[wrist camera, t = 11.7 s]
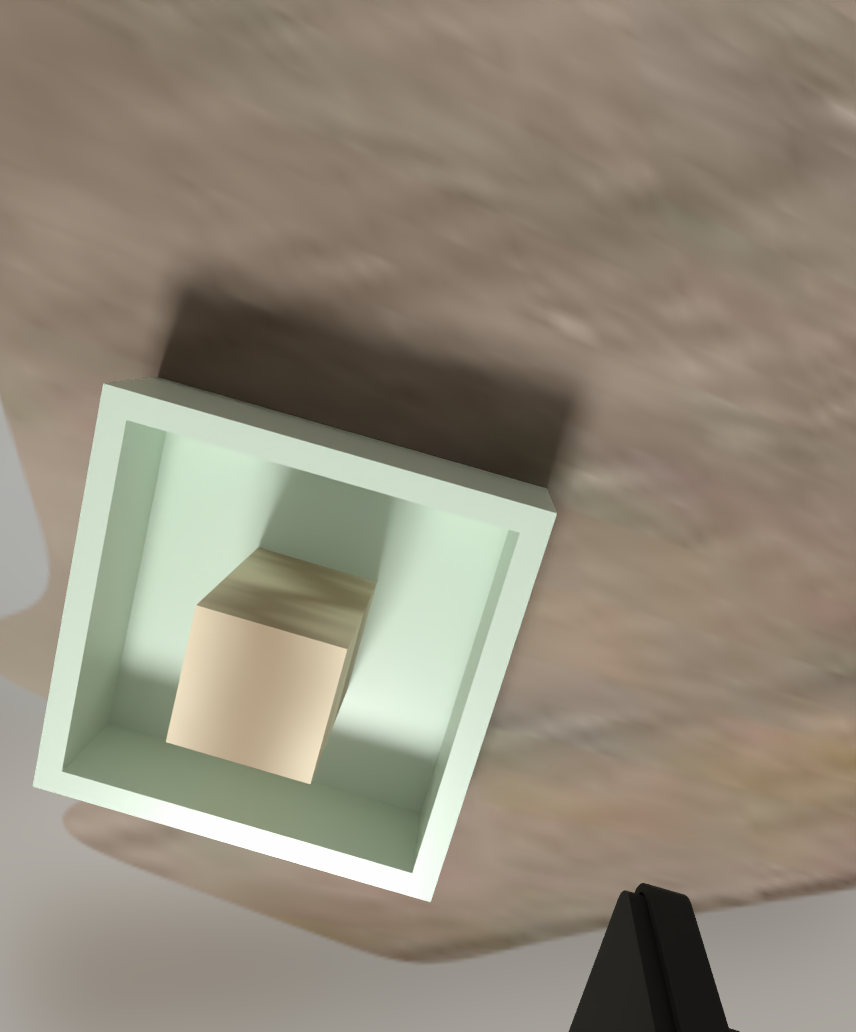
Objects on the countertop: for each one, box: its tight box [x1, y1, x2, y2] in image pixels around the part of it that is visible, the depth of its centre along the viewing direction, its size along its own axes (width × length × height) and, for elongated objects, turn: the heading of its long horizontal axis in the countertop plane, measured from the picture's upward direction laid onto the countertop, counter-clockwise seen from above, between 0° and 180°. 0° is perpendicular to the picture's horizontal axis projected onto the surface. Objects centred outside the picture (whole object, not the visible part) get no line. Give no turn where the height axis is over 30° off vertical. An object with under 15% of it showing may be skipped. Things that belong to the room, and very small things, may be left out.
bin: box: [33, 377, 557, 902], centre depth 31 cm, size 16×16×4 cm
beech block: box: [166, 548, 377, 784], centre depth 29 cm, size 5×5×7 cm
